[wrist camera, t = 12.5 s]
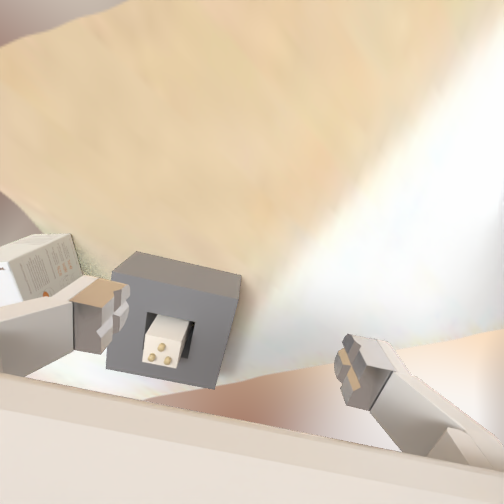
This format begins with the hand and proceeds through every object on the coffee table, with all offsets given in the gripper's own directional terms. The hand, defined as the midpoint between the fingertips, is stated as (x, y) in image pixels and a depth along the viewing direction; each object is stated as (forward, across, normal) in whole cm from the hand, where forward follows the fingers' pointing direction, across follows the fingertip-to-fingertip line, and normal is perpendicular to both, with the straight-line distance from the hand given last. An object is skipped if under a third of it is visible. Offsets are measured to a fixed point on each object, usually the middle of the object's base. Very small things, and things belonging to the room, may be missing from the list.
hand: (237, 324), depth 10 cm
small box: (+27, +26, +15) cm, 41 cm away
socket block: (+27, +7, +20) cm, 34 cm away
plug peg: (+27, +7, +20) cm, 34 cm away
